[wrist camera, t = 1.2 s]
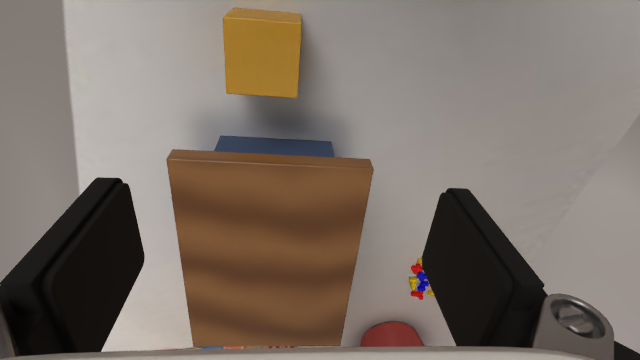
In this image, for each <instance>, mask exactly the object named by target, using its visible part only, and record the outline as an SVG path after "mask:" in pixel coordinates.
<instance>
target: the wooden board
mask: <svg viewBox="0 0 640 360" xmlns="http://www.w3.org/2000/svg"><path fill="white" fill-rule="evenodd" d="M167 166H168V173H169V180H170V187H171V194H172V201H173V208H174V215H175V222H176V229H177V236H178V243H179V250H180V257H181V264H182V271H183V278H184V285H185V292H186V299H187V305H188V312H189V319H190V326H191V333H192V340H193V346H194V347H225V346H340V343H341V338H342V333H343V328H344V322H345V317H346V312H347V307H348V301H349V296H350V291H351V286H352V280H353V275H354V270H355V265H356V259H357V254H358V249H359V243H360V238H361V233H362V228H363V222H364V217H365V212H366V207H367V201H368V196H369V191H370V186H371V180H372V175H373V170H374V169H373V166H372V164H371V161H370V159H356V158H336V157H316V156H296V155H276V154H256V153H235V152H215V151H195V150H175V149H173V150H172V151H171V153H170V154H169V156H168V158H167Z"/></svg>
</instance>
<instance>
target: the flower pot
mask: <svg viewBox="0 0 640 360" xmlns="http://www.w3.org/2000/svg"><path fill="white" fill-rule="evenodd" d="M422 346H424V344H423V342H422V340H421V339H420V337H419V335H418V334H417V332H416V330H415V329H414V328H413V327H411V326H409V325H408V324H405V323H401V322H388V323H383V324H380V325H377V326H375V327H373V328H371V329H370V330H368V331H367V332H366V333H365V334H364V336H363V338H362V340H361V347H422Z"/></svg>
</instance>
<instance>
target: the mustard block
mask: <svg viewBox="0 0 640 360" xmlns="http://www.w3.org/2000/svg"><path fill="white" fill-rule="evenodd" d="M223 29H224V51H225V74H226V93H227V94H241V95H257V96H272V97H287V98H297V97H298V81H299V64H300V47H301V31H302V22H301V16H300V14H297V13H286V12H275V11H264V10H253V9H242V8H233V9H232V10H231V11H230V12H228V13H227V14H226V15H225V16H224V17H223Z"/></svg>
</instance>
